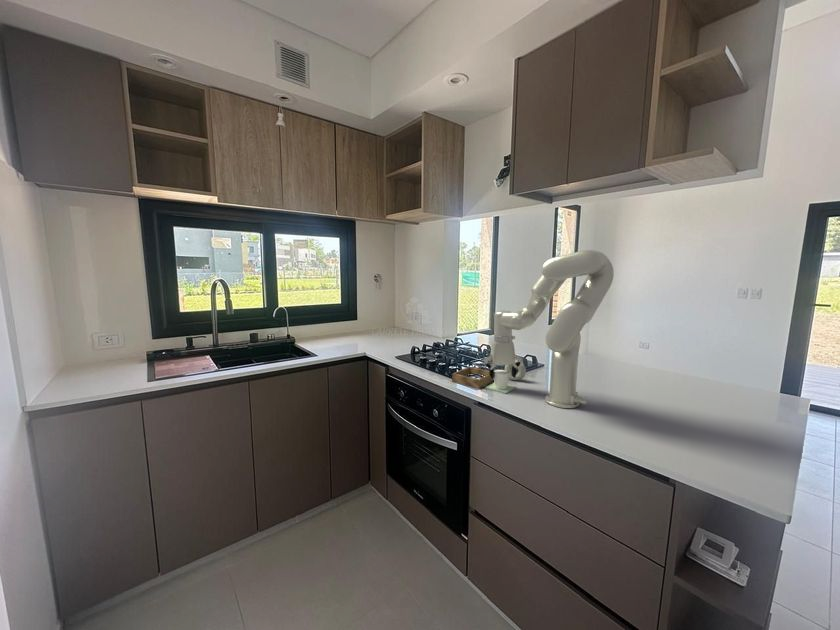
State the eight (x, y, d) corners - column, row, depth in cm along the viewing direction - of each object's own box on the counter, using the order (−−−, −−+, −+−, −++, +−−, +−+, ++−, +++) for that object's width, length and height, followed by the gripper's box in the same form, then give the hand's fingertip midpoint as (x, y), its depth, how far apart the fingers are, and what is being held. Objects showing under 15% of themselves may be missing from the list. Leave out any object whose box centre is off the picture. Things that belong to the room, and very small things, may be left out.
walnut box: (495, 380, 160) (495, 372, 159) (479, 389, 149) (479, 380, 148) (468, 374, 169) (469, 366, 169) (452, 381, 158) (452, 373, 158)
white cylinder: (496, 383, 155) (497, 368, 154) (511, 386, 150) (511, 371, 149) (489, 387, 149) (490, 371, 148) (504, 390, 145) (504, 375, 144)
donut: (526, 380, 159) (527, 360, 158) (524, 383, 156) (525, 362, 155) (505, 377, 165) (506, 357, 163) (503, 379, 162) (503, 359, 160)
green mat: (516, 387, 151) (516, 386, 151) (506, 393, 143) (506, 392, 143) (496, 382, 157) (496, 381, 157) (485, 388, 150) (485, 387, 149)
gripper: (519, 336, 151) (518, 373, 153) (481, 338, 150) (481, 375, 152) (525, 339, 144) (525, 378, 146) (485, 341, 142) (485, 380, 145)
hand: (502, 377), depth 149 cm, fingers open, 9 cm apart
